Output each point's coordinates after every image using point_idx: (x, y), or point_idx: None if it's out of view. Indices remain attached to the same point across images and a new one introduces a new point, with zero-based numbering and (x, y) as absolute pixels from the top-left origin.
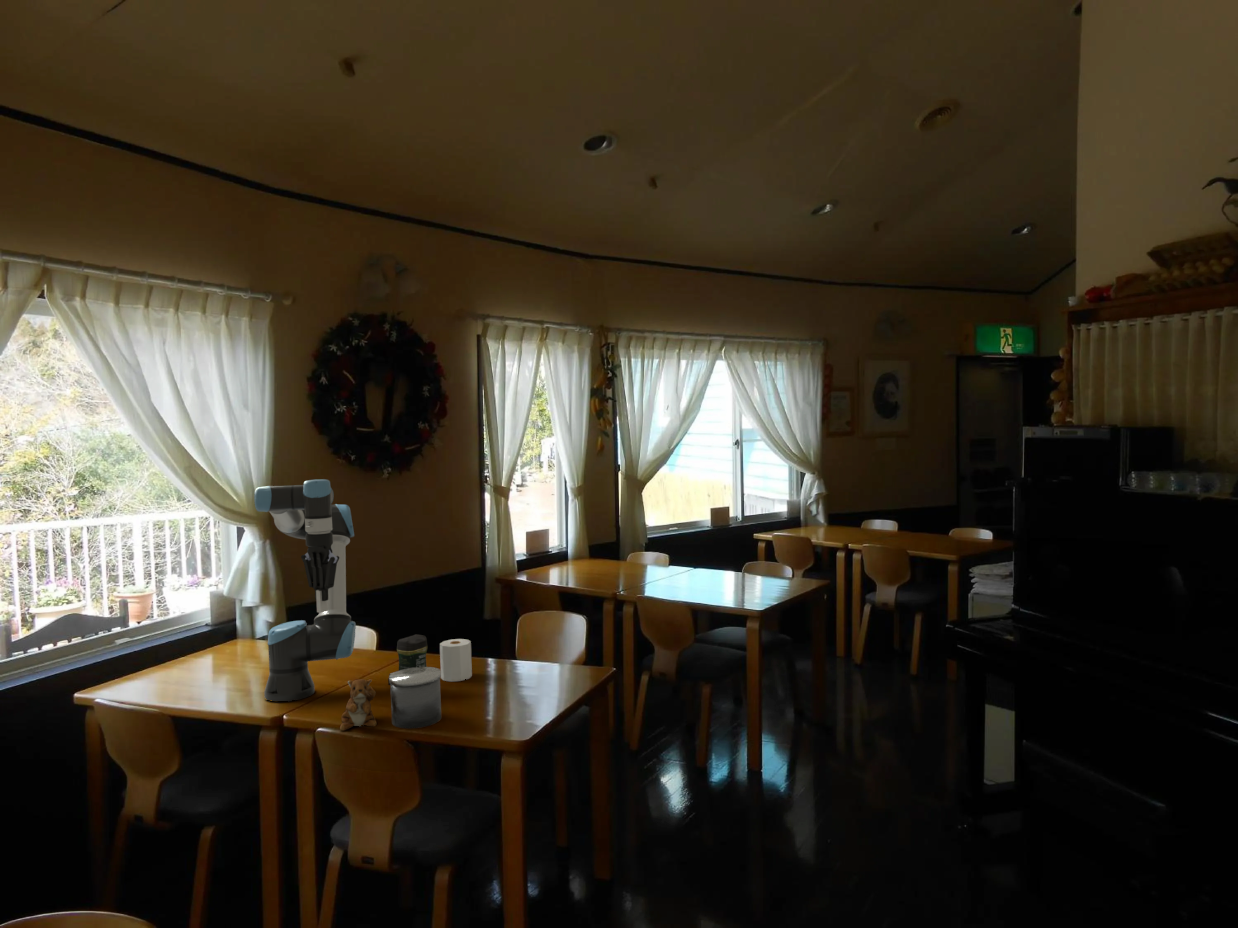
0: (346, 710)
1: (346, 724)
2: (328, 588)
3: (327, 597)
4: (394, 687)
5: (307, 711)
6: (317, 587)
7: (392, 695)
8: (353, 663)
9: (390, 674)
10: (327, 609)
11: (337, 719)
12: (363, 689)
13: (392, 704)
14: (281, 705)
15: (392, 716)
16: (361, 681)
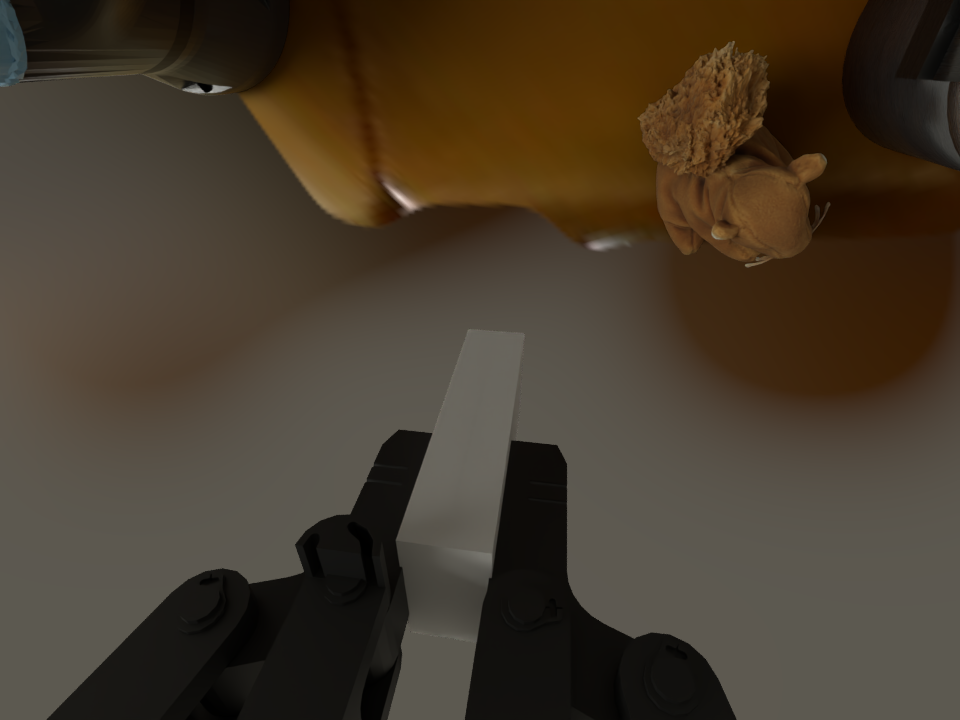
0: (680, 209)
1: (701, 240)
2: (603, 638)
3: (566, 490)
4: None
5: (431, 129)
6: (399, 662)
7: (943, 160)
8: None
9: (953, 81)
10: (523, 341)
11: (599, 160)
12: (809, 239)
13: (913, 150)
14: (291, 109)
15: (878, 137)
16: (798, 228)
